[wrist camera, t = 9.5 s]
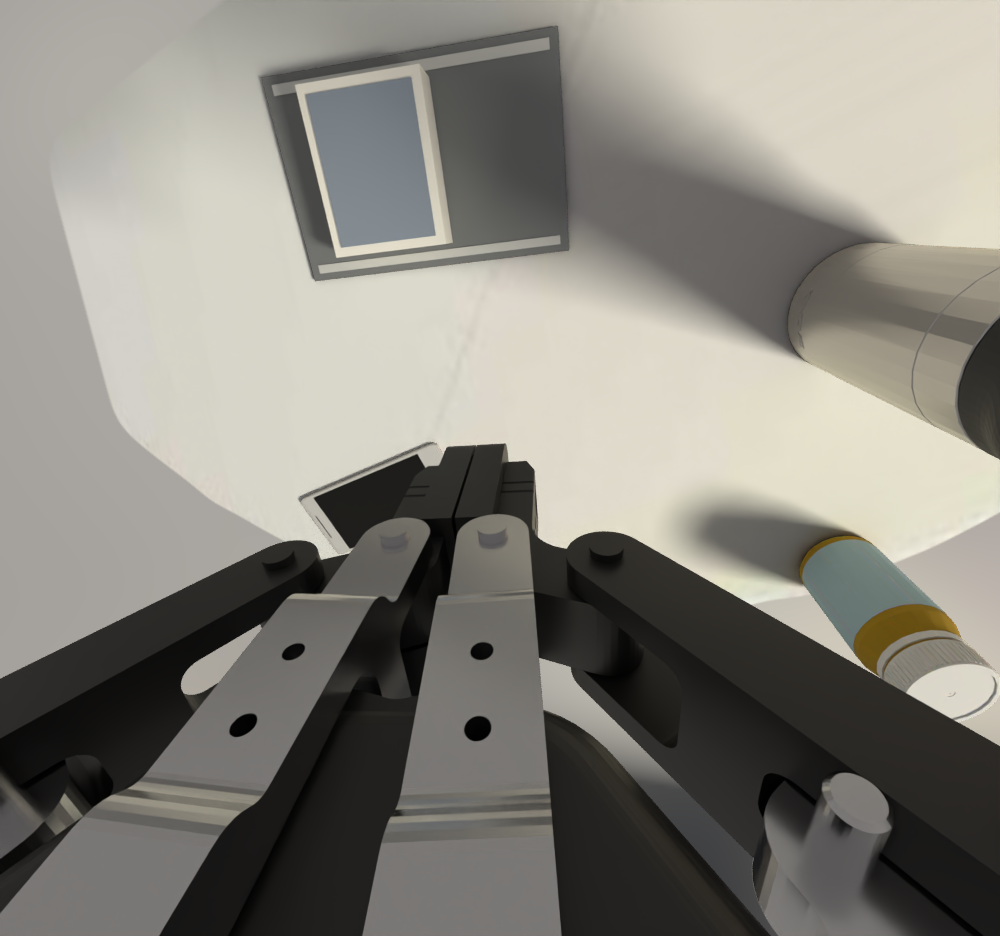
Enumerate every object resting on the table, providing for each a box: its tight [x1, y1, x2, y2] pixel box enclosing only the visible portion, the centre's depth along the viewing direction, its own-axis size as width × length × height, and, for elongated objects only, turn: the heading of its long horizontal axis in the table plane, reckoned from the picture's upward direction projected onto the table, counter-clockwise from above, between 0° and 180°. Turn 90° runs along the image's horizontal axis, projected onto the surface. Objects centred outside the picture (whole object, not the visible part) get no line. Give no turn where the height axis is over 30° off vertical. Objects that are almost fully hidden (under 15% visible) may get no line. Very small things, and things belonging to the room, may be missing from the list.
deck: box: [295, 64, 453, 258], centre depth 33 cm, size 3×10×8 cm
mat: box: [262, 26, 569, 281], centre depth 35 cm, size 20×13×1 cm, turn 97°
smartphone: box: [301, 443, 443, 554], centre depth 48 cm, size 7×16×1 cm, turn 116°
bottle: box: [799, 536, 1000, 722], centre depth 40 cm, size 7×7×15 cm
